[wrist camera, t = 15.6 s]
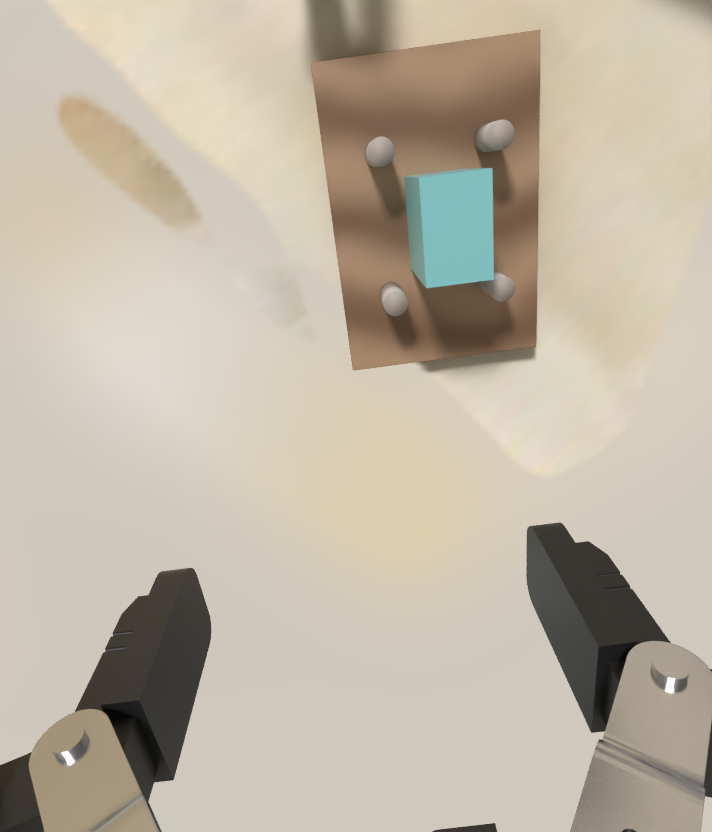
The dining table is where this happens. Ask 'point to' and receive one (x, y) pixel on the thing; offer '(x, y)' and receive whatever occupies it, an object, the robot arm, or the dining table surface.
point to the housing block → (451, 226)
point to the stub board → (420, 154)
